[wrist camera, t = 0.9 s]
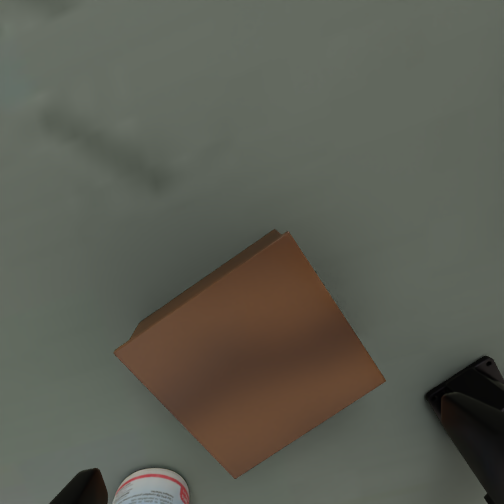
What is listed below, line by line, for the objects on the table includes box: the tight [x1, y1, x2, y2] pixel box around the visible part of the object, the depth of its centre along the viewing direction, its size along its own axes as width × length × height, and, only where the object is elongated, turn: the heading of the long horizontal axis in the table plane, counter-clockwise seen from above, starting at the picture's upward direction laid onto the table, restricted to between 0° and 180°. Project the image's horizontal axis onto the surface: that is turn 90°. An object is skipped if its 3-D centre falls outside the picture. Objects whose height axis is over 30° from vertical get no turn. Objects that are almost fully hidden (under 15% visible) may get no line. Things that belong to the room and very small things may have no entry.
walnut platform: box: [114, 229, 386, 479], centre depth 20 cm, size 13×13×4 cm
